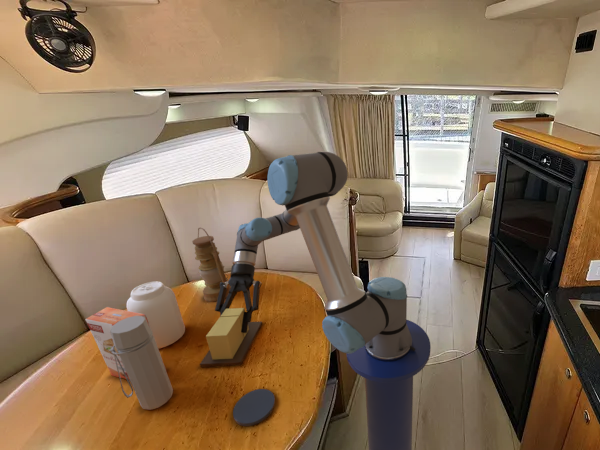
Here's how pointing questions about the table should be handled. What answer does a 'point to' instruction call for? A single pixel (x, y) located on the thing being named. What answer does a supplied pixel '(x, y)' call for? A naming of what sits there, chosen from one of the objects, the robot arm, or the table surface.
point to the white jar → (158, 311)
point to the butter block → (225, 337)
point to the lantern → (210, 266)
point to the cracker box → (109, 335)
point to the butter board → (240, 352)
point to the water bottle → (141, 362)
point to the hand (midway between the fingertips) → (233, 332)
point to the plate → (254, 407)
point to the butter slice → (235, 312)
